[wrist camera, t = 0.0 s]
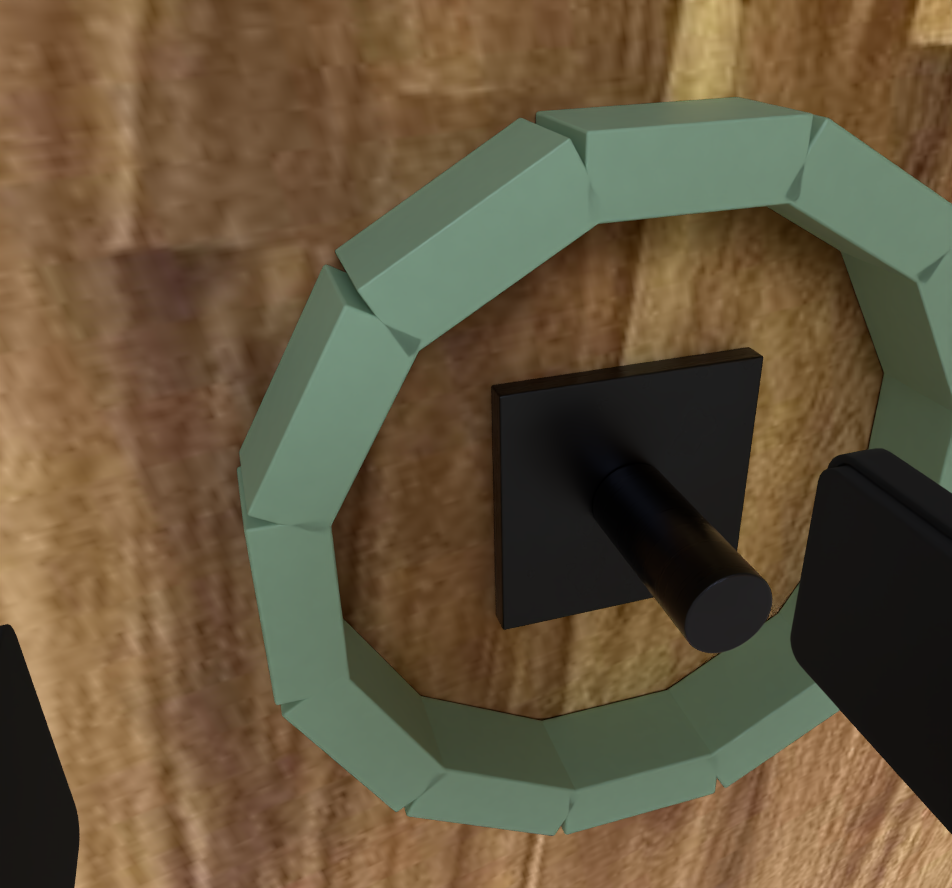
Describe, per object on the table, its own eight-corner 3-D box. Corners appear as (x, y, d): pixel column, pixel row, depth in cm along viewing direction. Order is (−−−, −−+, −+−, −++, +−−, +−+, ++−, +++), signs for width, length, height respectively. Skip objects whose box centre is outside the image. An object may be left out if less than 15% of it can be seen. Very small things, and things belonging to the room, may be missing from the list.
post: (490, 384, 24) (582, 504, 19) (749, 346, 26) (901, 445, 21) (495, 615, 28) (572, 770, 23) (721, 567, 30) (843, 700, 25)
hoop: (178, 136, 19) (178, 163, 17) (1003, 77, 25) (1105, 90, 22) (299, 822, 30) (311, 907, 27) (861, 678, 35) (918, 737, 32)
